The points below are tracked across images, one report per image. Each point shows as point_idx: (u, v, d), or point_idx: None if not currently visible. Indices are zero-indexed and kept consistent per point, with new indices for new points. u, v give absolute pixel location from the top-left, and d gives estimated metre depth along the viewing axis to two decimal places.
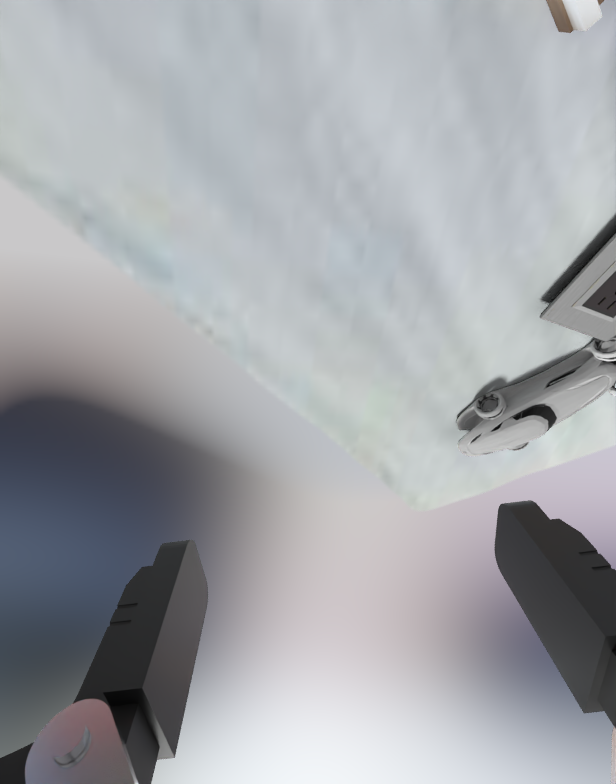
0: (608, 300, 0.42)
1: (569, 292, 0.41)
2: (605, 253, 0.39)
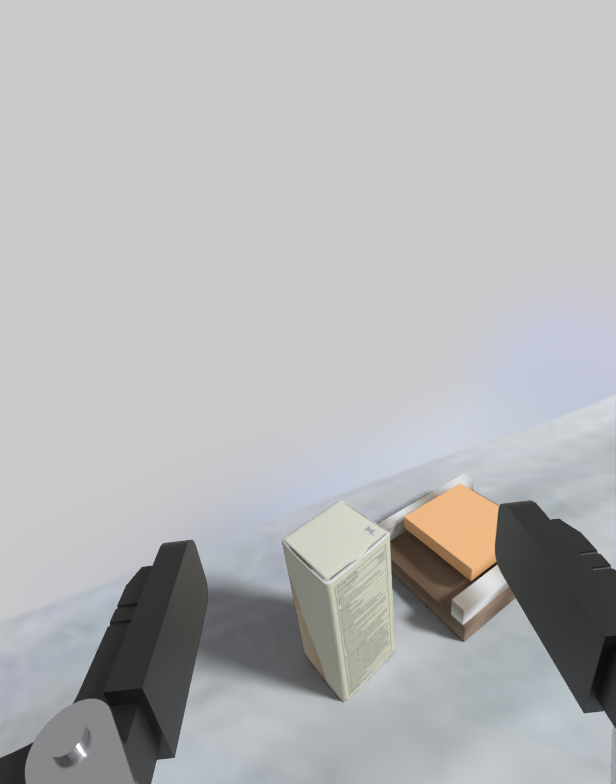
0: None
1: None
2: None
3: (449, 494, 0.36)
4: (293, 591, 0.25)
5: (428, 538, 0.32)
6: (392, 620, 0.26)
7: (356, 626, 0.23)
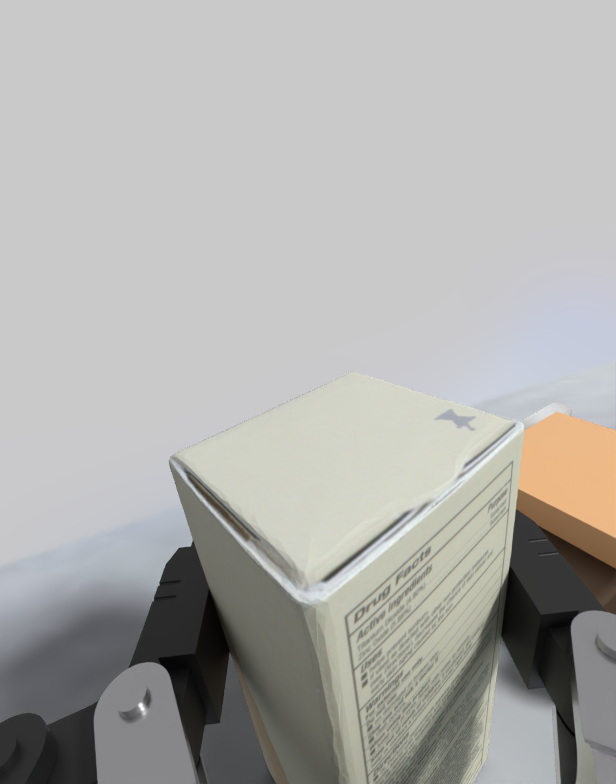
0: None
1: None
2: None
3: (543, 428, 0.20)
4: (221, 620, 0.09)
5: (527, 500, 0.16)
6: (493, 692, 0.10)
7: (415, 741, 0.07)
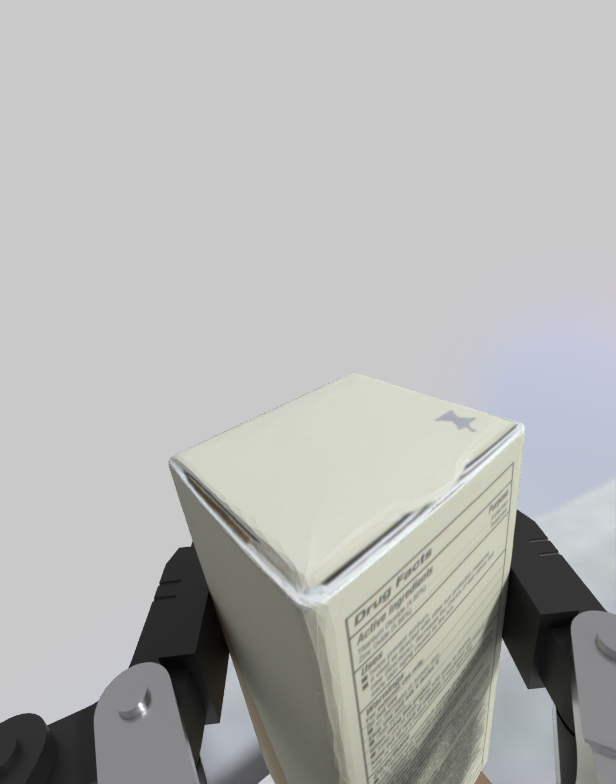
0: None
1: None
2: None
3: None
4: (221, 622, 0.09)
5: None
6: (493, 693, 0.10)
7: (416, 743, 0.07)
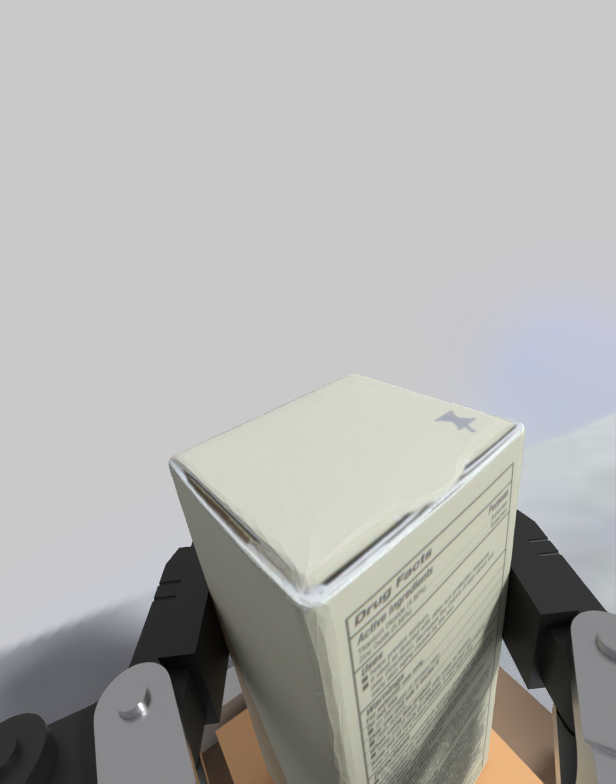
0: None
1: None
2: None
3: None
4: (221, 622, 0.09)
5: None
6: (493, 694, 0.10)
7: (416, 744, 0.07)
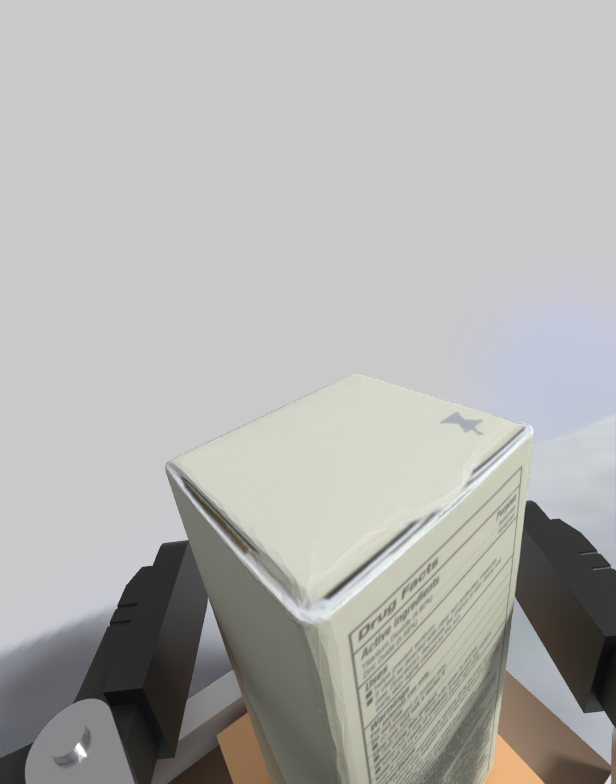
0: None
1: None
2: None
3: None
4: (220, 629, 0.08)
5: None
6: (499, 701, 0.10)
7: (422, 755, 0.07)
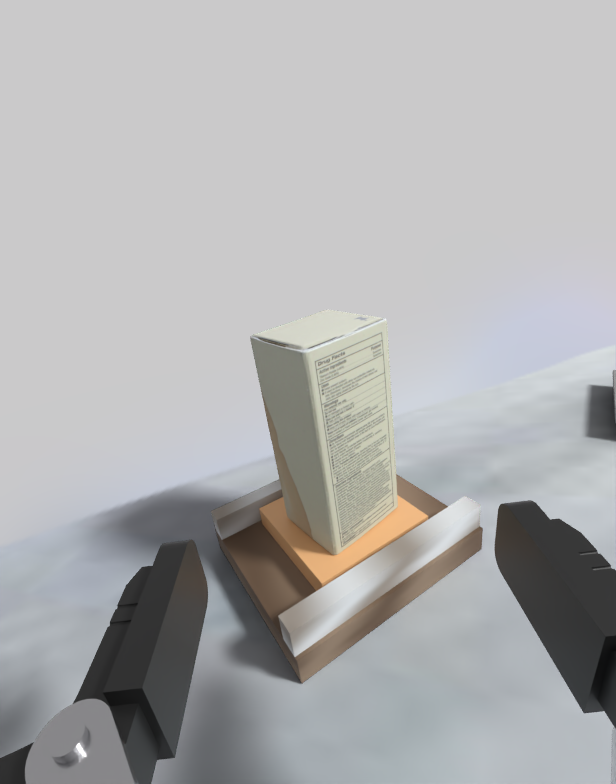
0: None
1: None
2: None
3: None
4: (268, 415, 0.20)
5: (281, 538, 0.22)
6: (393, 459, 0.21)
7: (347, 442, 0.18)
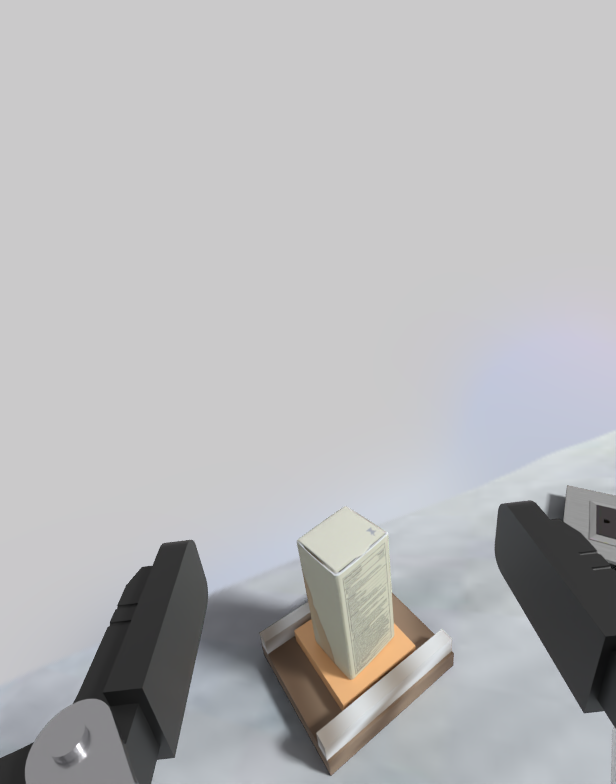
0: None
1: None
2: None
3: None
4: (306, 585, 0.29)
5: (312, 660, 0.31)
6: (391, 609, 0.30)
7: (361, 613, 0.28)
